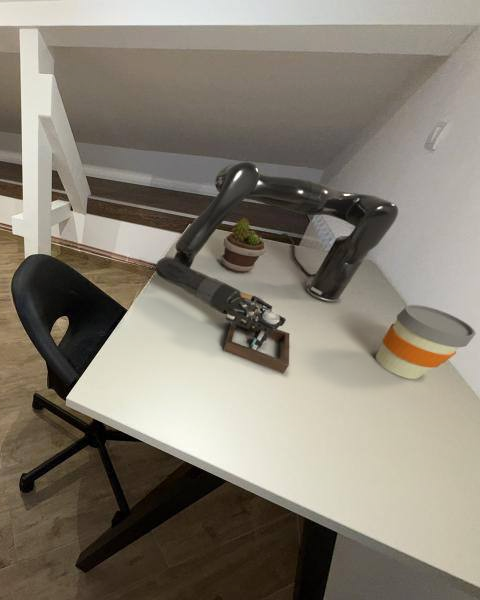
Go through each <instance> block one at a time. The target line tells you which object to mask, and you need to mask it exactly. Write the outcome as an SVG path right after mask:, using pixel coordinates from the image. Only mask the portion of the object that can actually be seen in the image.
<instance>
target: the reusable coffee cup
mask: <svg viewBox="0 0 480 600" xmlns="http://www.w3.org/2000/svg"><path fill="white" fill-rule="evenodd" d="M475 336H476V331H475V329H474V328H473V327H472V326H471V325H469V324H468V323H467V322H466V321H464V320H462V319H460V318H458V317H456V316H455V315H453V314H450V313H447V312H445V311H442V310H440V309H436V308H434V307H430V306H427V305H420V304H408V305H406V306H405V307H404V308H403V309H402V310H401V311H400V312H399V313H398V314H397V315H396V320H395V322H394V323H391V325H390V326H389V328H388V330H387V332H386V333H385V335H384V337H383V339H382V345H381V346H380V348H379V350H378V351H377V353H376V355H375V359H376V361H377V363H378V364H379V365H380V366H382V368H384V369H385V370H387V371H388V372H391V373H393V374H394V375H397V376H399V377H402V378H405V379H410V380H411V379H412V380H416V379H419V378H420V377H422V376H423V375H424V374H426V373H427V372H428V371H430V370H432V369H434V368H438V367H440V366H441V365H442V364H444V363H445V362H447V361H448V360H450V359H451V358H452V357H454V356H455V355H457V351H458V350H459V349H461V348H464V347H467V346H468V345H469V344H470V342H471V341H472V339H473V338H474V337H475Z"/></svg>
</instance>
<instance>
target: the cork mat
mask: <svg viewBox="0 0 480 600" xmlns="http://www.w3.org/2000/svg"><path fill="white" fill-rule="evenodd" d="M240 295H241V297H243V298H247V299H251V298H252V296H253V295H251V294H248V293H245V292H242V291H240ZM256 297H257V298H259V297H258V296H256ZM256 310H257V309H256ZM256 310H255V312H256Z"/></svg>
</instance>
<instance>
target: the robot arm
mask: <svg viewBox="0 0 480 600" xmlns="http://www.w3.org/2000/svg"><path fill="white" fill-rule="evenodd" d="M214 185H215V189H216V191H217V192H218V194H217V195H216V197H215V198H214V199H213V200H212V202H211V203H210V204H209V205H208V206H207V207H206V209H204V211H202V212H201V213H200V214H199V215H198V216H197V217H196V218H195V219H194V220H193V221H192V222H191V223H190V224H189V225H188V227H187V229H186V230H185V231H184V232H183V233H182V234H181V236H180V238H179V239H178V241H177V242H176V244H175V247H174V248H175V250H176V252H175V255H174V257H170V256H165V257H162V258H160V259H158V261H157V262H156V264H155V272H156V275H157V276H158V278H160V279H161V280H164V281H165V282H167V283H169V284H171V285H174V286H176V287H178V288H180V289H181V290H182V291H183V292H185V293H187V294H189V295H191V296H192V297H194V298H196V299H197V300H199V301H200V302H202V303H203V304H205V305H207V306H208V307H210V308H212V309H214V310H216V311H218V312H219V313H221V314H223V315H226V316H225V320H227V321H228V322H230V323H231V322H233V323H235V324H237V325H240V326H242V327H244V328H247V329H249V328H250V327H253V328H255V327H256V328H258V329H260V330H262V331H263V332H265V333H267V334H269V335H271V334H272V333H273V332H274V330H275V327H274V326H272V325H270V324H269V323H267V322H265V321H263V320H261V319H260V320H259V318H258V315H259V313H261V312H266V311H271V312H273V311H272V310H273V306H272V305H271V304H269V303H267V302H266V301H264V300H262V299H261V298H260V297H258V296H256V295H252V298H251V299H247V298H243V297H241V295H240V292H241V291H240V290H239V289H237V288H235V287H234V286H232V285H230V284H227V283H225V282H223V281H221V280H219V279H217V278H213V277H211V276H208V275H207V274H205V273H202V272H201V271H197V270H195V269H193V268H191V267H192V266H193V264H194V261H195V258H196V256H197V255H198V254H199V252H201V250H202V249H203V248H204V246H205V245H206V243H207V242H208V240H209V239H210V238H211V237H212V236H213V234H214V233H215V232H216V230H217V229H218V228H219V226H221V224H222V223H223V222H224V221H225V220H226V219H227V217H228V216H229V215H230V214H232V212H234V210H235V209H236V208H237V207H238V206H239V205H240V204H241V203H242V202H243V201H244V200H250V201H256V202H259V203H262V204H265V205H267V206H271V207H274V208H278V209H281V210H283V211H287V212H291V213H296V214H299V215H305V216H322V215H323V216H329V217H332V218H336V219H339V220H342V221H344V222H346V223H348V224H349V225H351V226H353V227H354V229H353V230H352V231H351V233H350V234H349V235H340V236H338V237H337V238H336V239H335V240H334V242H333V244H332V245H331V247H330V249H329V251H328V252H327V254H326V256H325V257H324V259H323V261H322V263H321V264H320V266H319V268H318V270H316V272H315V273H313V274H311V273H309V272H308V271H307V270H306V269H305V268H304V266H303V265H302V264H301V262H299V260H298V259H297V256H296V245H295V242H294V240H293V239H292V238H291V236H290V235H289V234H288V233H285V232H284V233H282V234H280V236H286V237H287V238H288V239H289V241H290V242H291V245H292V257H293V259H294V261H295V263H296V265H298V266H299V268H300V269H301V270H302V272H303V273H304V274H305V275H306V276H307V277H310V278H312V280H311V282H310V283H309V285H308V286H307V288H306V292H307V294H308V295H310V296H311V297H314V298H315V299H317V300H319V301H323V302H327V303H337V302H338V301H339V300H340V297H341V296H342V294H343V293H344V291H345V290H346V289H347V287H348V285H349V283H350V282H351V280H352V279H353V277H354V276H355V274H356V273H357V272H358V270H359V269H360V267H361V265H362V264H363V262H364V261H365V259H366V258H367V256H368V255H369V254H370V252H371V251H372V250H374V248H376V247H377V246H378V245H379V244H380V242H381V241H382V240H383V238H384V237H385V236H386V235H387V233H389V230H390V229H391V228H392V227H393V225H394V224H395V222H396V220H397V218H398V215H399V208H398V205H397V204H395V203H394V202H392V201H389V200H386V199H384V198H381V197H379V196H376V195H371V194H363V193H355V192H349V191H343V190H339V189H337V188H335V187H332V186H330V185H327V184H324V183H321V182H317V181H313V180H310V179H306V178H301V177H291V176H290V177H289V176H273V175H264V174H261V173H260V170H259V168H258V166H257V165H256V164H255V163H253V162H250V161H239V162H236V163H231V164H229V165H226V166H225V167H223V168H222V169H221V170H219V171H218V172H217V174H216V176H215V179H214ZM257 297H258V298H257ZM256 309H257V310H256ZM255 310H256V312H255ZM277 315H278V316H279V317H280V319H281V320H282V324H281V326H280V327H283V326H284V325H285V323H286V321H287V319H286V318H285V317H283V316H281V315H279V314H277ZM241 320H242V321H243V322H244V323H243V322H241ZM245 323H246V324H245Z"/></svg>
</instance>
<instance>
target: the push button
mask: <svg viewBox="0 0 480 600" xmlns="http://www.w3.org/2000/svg"><path fill="white" fill-rule="evenodd" d="M278 315H279V314H278V313H276V312H274V311H272V312H271V311H266V312H261V311H260V313H259V315H258V318H259V320H260V319H261V320H263V321H265V322H267V323H269V324H270V325H272V326H274V327H275V329H278V328H280V327H282V326H281V324H282V320H281V319H280V317H279V316H280V315H279V316H278ZM268 339H269V338H268V335H267V333H265V332H263V331H262V330H260V329H259V331H255V333H253V336H251V339H250V341H249V342H252V343H251V344H250V348H251V349H254V350H256V351H258V349H261V348H262V347H263V346H264V344H265V343H266V341H267V340H268ZM252 340H253V341H252Z"/></svg>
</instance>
